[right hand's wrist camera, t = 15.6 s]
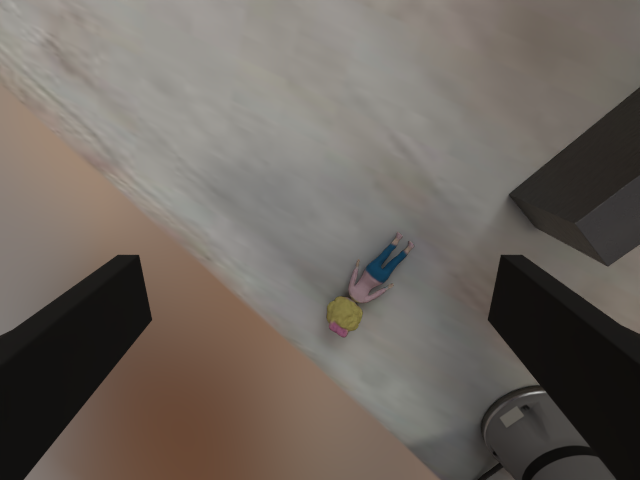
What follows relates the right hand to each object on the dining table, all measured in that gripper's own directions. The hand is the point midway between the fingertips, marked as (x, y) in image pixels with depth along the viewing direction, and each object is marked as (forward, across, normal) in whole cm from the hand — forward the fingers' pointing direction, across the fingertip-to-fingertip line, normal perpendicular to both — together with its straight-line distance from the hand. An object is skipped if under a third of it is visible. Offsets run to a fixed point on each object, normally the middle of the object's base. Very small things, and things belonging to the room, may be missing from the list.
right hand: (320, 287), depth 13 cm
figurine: (+30, -6, +15) cm, 34 cm away
